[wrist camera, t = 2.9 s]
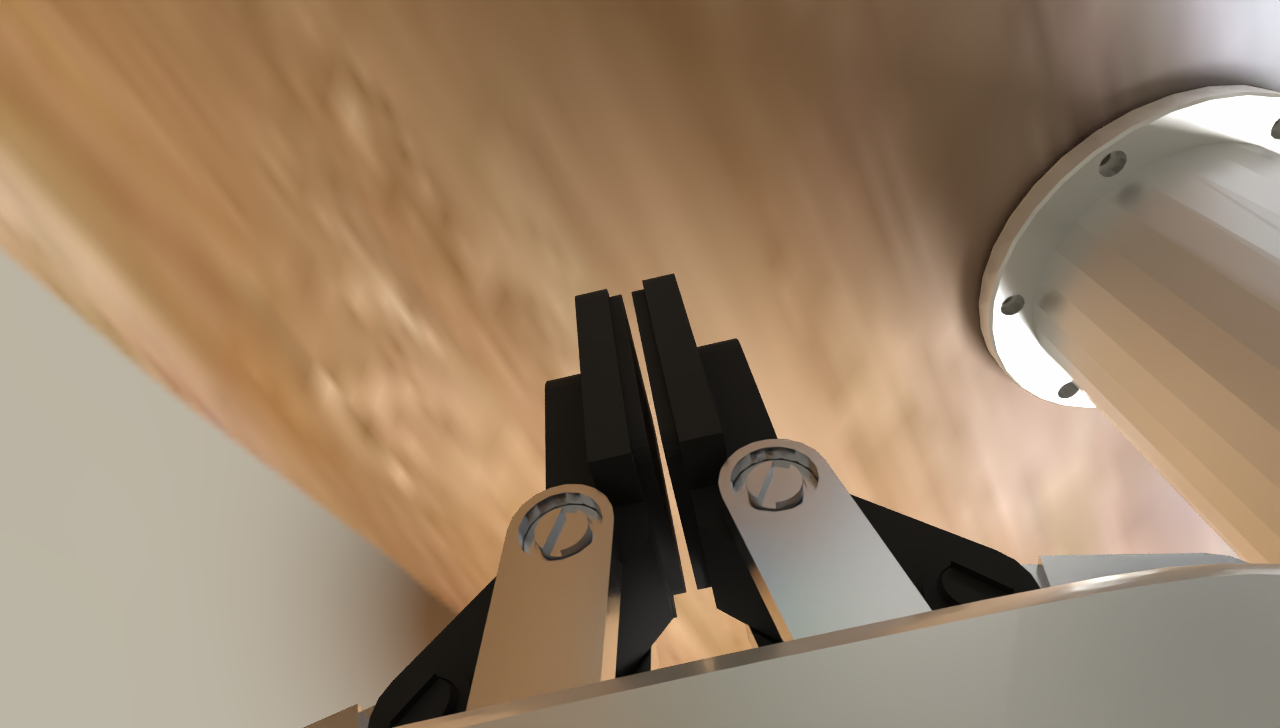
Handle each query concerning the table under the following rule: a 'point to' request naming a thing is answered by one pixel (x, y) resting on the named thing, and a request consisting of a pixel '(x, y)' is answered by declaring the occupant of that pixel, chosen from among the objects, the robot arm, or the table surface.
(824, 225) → the table surface
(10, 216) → the table surface
